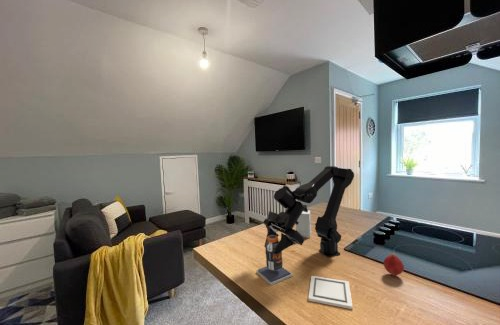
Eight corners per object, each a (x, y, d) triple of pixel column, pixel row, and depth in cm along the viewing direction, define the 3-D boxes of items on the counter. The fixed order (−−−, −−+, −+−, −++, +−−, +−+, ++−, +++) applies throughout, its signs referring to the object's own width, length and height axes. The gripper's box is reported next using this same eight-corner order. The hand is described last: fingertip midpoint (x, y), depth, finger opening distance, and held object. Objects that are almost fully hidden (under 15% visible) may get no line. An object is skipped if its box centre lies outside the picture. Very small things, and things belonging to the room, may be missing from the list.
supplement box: (310, 238, 108) (309, 214, 107) (295, 236, 111) (294, 213, 110) (311, 232, 115) (310, 210, 114) (298, 231, 117) (297, 209, 117)
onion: (380, 271, 76) (379, 249, 76) (396, 270, 76) (395, 249, 75) (390, 280, 70) (390, 257, 70) (408, 280, 70) (407, 257, 70)
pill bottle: (274, 273, 73) (272, 241, 72) (263, 266, 78) (261, 237, 77) (286, 266, 77) (283, 236, 76) (274, 260, 81) (272, 232, 81)
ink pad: (276, 264, 84) (276, 261, 84) (292, 276, 75) (292, 273, 75) (256, 272, 79) (256, 269, 79) (270, 285, 71) (270, 282, 71)
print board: (311, 277, 74) (311, 275, 74) (348, 283, 70) (348, 280, 69) (308, 300, 63) (308, 297, 63) (352, 309, 58) (352, 305, 58)
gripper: (265, 198, 86) (243, 231, 81) (296, 207, 70) (271, 249, 65) (281, 214, 90) (261, 245, 85) (314, 225, 74) (291, 265, 69)
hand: (270, 250), depth 76 cm, fingers closed on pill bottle, 6 cm apart
